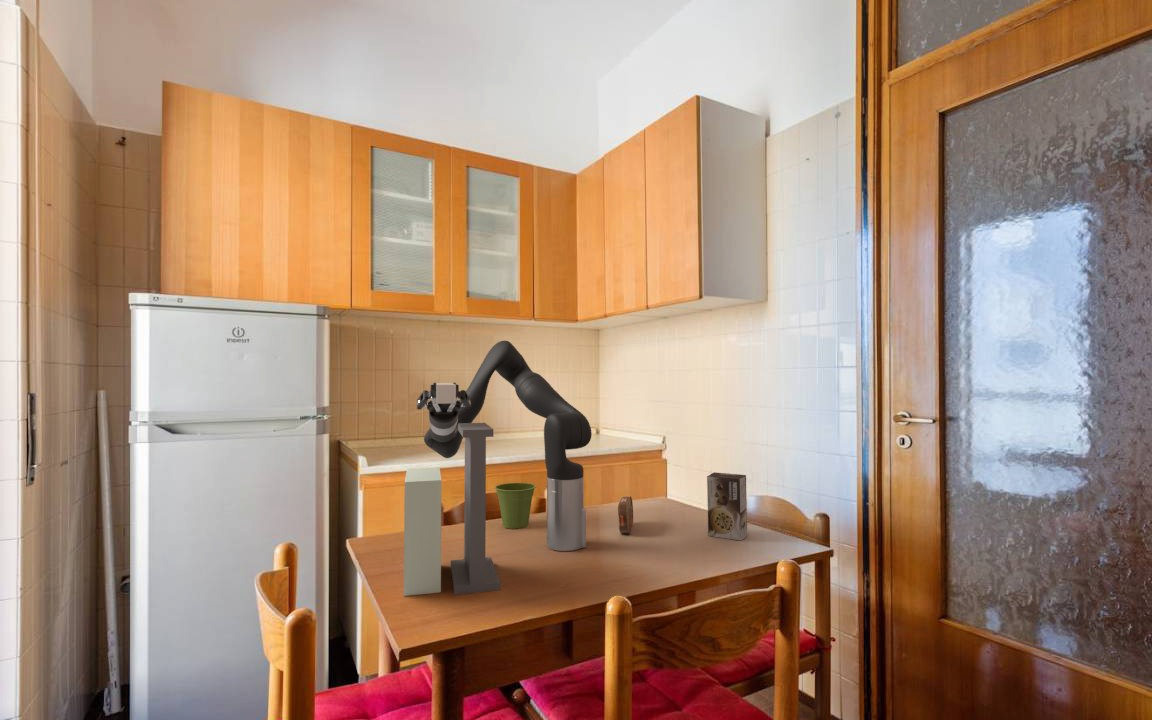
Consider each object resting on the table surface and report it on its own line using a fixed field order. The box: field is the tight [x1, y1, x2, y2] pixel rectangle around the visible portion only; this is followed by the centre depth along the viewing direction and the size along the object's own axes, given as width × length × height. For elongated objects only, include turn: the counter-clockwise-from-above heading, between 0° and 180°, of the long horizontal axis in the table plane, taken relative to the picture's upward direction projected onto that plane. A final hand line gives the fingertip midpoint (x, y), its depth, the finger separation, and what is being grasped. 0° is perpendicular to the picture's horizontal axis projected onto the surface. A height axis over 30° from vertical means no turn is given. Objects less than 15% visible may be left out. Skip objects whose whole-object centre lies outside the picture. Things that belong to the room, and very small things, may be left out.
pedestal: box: [403, 466, 443, 597], centre depth 115 cm, size 7×16×22 cm, turn 15°
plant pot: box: [494, 482, 537, 530], centre depth 156 cm, size 12×12×11 cm
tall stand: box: [450, 422, 501, 596], centre depth 116 cm, size 9×16×32 cm, turn 15°
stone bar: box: [435, 382, 457, 404], centre depth 128 cm, size 4×22×4 cm, turn 15°
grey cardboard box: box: [706, 472, 748, 541], centre depth 147 cm, size 9×6×16 cm
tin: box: [617, 496, 634, 535], centre depth 153 cm, size 15×3×8 cm, turn 168°
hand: (444, 386), depth 132 cm, fingers closed on stone bar, 4 cm apart
